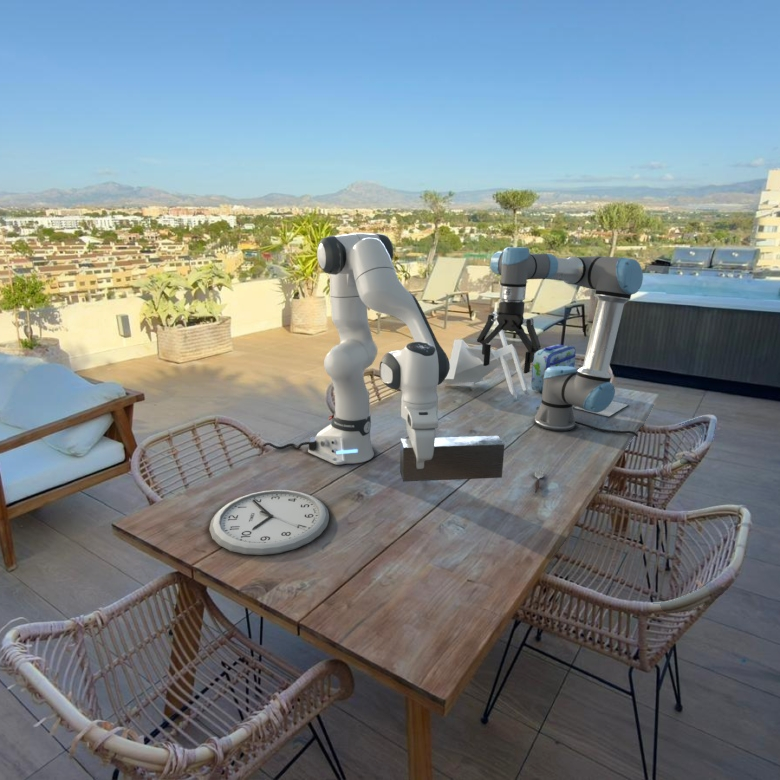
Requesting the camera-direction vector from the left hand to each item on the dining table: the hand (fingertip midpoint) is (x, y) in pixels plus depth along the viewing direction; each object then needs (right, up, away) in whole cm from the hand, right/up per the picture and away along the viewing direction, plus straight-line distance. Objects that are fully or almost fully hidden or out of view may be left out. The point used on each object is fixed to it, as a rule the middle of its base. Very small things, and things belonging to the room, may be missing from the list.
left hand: (417, 461), depth 131 cm
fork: (+38, -10, +26) cm, 47 cm away
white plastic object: (+35, +17, +112) cm, 118 cm away
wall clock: (-38, -16, +3) cm, 41 cm away
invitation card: (+85, +11, +95) cm, 127 cm away
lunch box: (+70, +18, +118) cm, 139 cm away
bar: (+9, -4, +2) cm, 9 cm away
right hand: (+29, +25, +32) cm, 50 cm away
